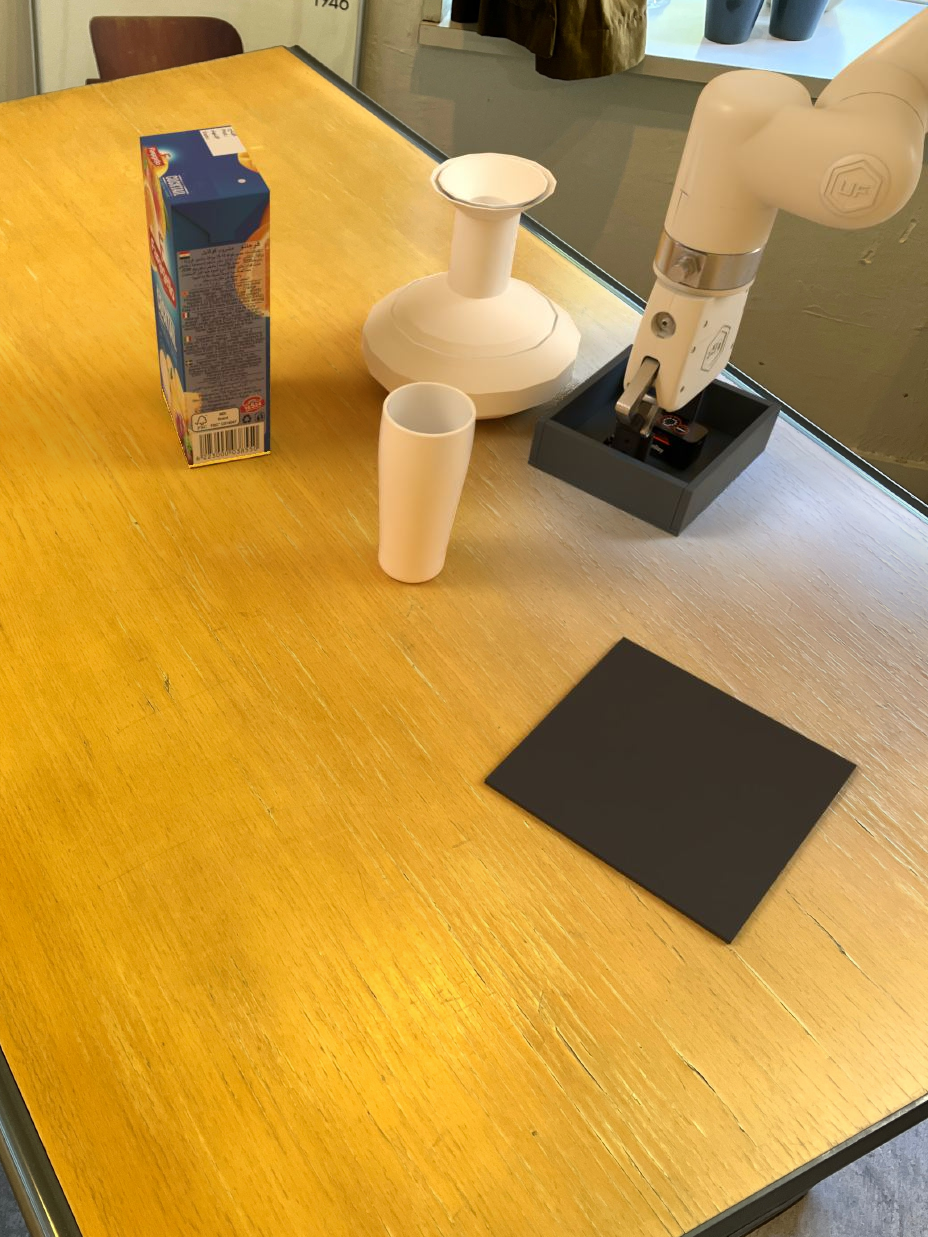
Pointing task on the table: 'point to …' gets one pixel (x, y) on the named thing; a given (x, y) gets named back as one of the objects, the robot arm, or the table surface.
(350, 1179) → the table surface
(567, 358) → the white ceramic vase shape
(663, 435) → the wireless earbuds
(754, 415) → the box
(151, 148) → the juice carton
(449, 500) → the drinking glass
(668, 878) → the mat
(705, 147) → the robot arm
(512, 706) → the table surface
